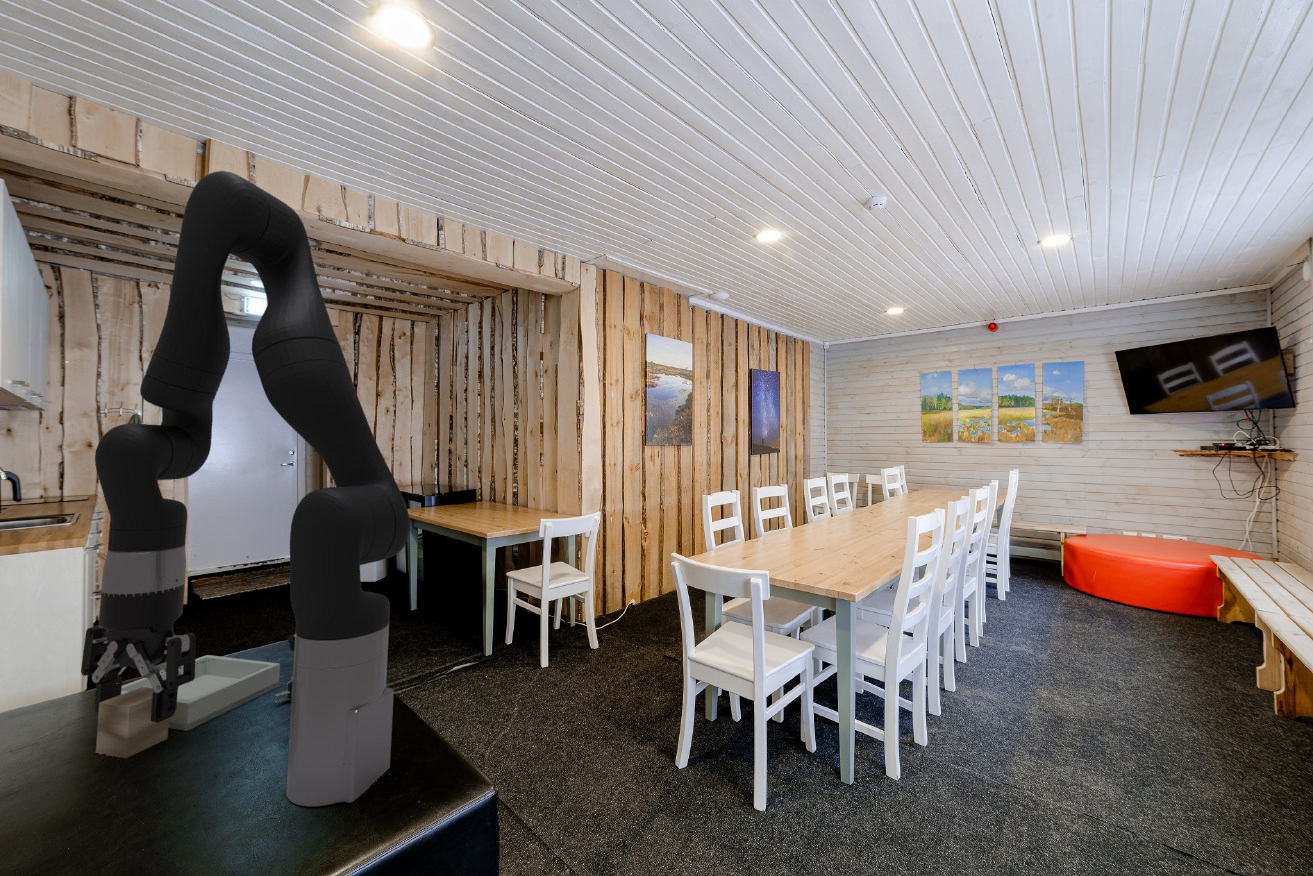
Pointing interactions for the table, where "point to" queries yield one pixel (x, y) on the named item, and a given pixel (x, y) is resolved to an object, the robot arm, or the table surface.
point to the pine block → (128, 724)
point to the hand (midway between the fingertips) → (134, 714)
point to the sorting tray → (216, 688)
